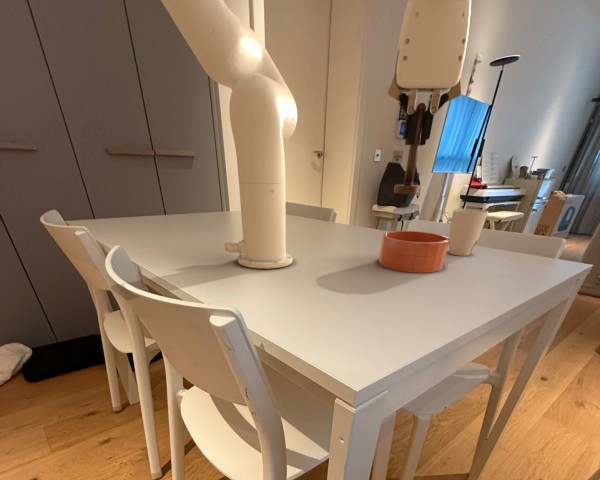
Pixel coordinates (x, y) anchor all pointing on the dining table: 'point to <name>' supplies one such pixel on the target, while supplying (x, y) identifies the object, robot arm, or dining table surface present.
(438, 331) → the dining table surface
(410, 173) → the brown peg stand
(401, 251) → the bowl
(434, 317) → the dining table surface
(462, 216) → the cup
